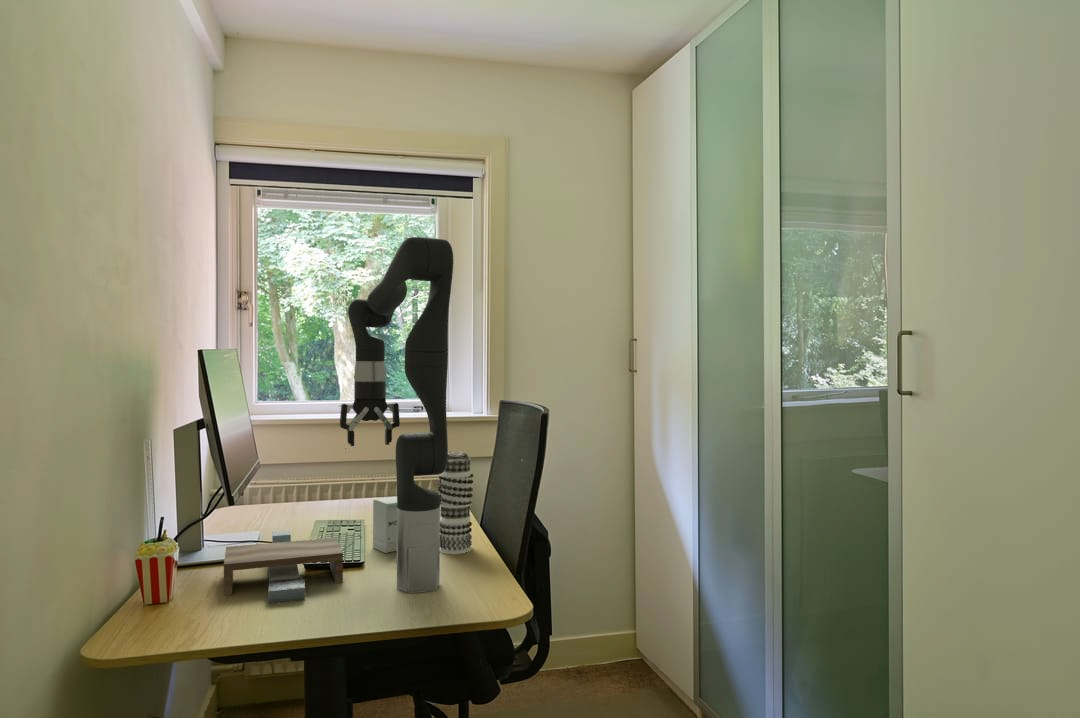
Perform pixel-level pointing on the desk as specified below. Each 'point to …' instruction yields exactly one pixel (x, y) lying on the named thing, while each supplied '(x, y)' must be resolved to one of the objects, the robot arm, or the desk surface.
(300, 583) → the grey flat block
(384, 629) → the desk surface
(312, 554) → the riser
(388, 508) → the supplement box
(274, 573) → the grey bar
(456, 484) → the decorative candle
